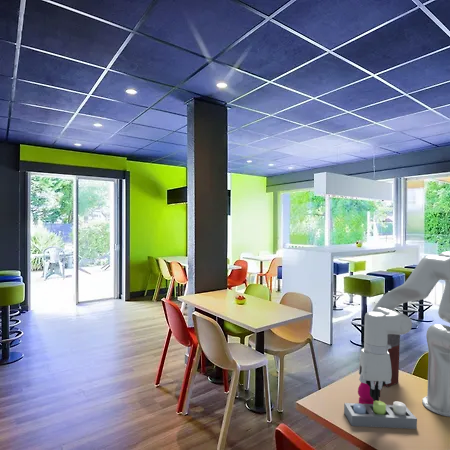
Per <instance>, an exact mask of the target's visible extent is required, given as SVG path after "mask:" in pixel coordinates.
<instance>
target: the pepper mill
mask: <svg viewBox="0 0 450 450" xmlns="http://www.w3.org/2000/svg"><path fill="white" fill-rule="evenodd" d="M374 385H375V382H374ZM357 394H358V396H359V397H358V404H373V402H374V400H373V399H372V397H371V396H370V386H369V385H368V384H365V383H362V382H360V384H359V385H358V388H357Z"/></svg>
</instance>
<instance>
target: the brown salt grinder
mask: <svg viewBox="0 0 450 450" xmlns="http://www.w3.org/2000/svg"><path fill="white" fill-rule="evenodd" d="M400 343H401V335H396V334H388V340H387V344H388V345H391V349H388V352H389V355H390V361H391V371H392V377H391V383H389V384H385V385H384V386H383V387H386V388H389V387H390V388H391V387H392V386H394V385H396V384H398V383H399V377H400V376H399V375H400V374H399V373H400V347H401V346H400V345H401V344H400ZM375 382H376V381H374V383H375Z"/></svg>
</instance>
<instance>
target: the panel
mask: <svg viewBox="0 0 450 450" xmlns="http://www.w3.org/2000/svg"><path fill="white" fill-rule="evenodd" d="M354 404H358V403H357V402H356V403H354V402H344V406H343V408H344V409H343V413H344V415H345V417H346V418H347V420H348V422H349V423H350V425H351V426H352V427H369V428H388V429H389V428H391V429H411V430H412V429H413V430H417V427H418V418H417V416H415V415H414V414H413V413H412V411H410V409H409V408H408V407H407V406H406V416H400V415H395V414H394V413H393V404H386V415H378V414H375V413H374V412H373V404H362V405H364V406H365V407H366V414H355V413H354V411H353V407H354Z"/></svg>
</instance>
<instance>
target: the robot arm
mask: <svg viewBox="0 0 450 450" xmlns="http://www.w3.org/2000/svg"><path fill="white" fill-rule="evenodd" d="M439 281H444V282H445V283H444V290H443V293H442V295H441V300H440V303H439V305H438V306H439V307H438V312H437V313H438V317H439V318H440V319H441V320H442V321H445V322H447V323H449V324H450V251H442V252H441V253H439V254H438V255H426V256H424V257H422V258H421V260H420V261H419V262H418V264H417V265H416V267H414V269H413V271H412V272H411V273H410V275H409V276H408V278H407V279H406V281H404V283H402V284H400V285H398V286H396V287H395V288H393V289H391V290H390V291H388V292H386V293H385V294H384V295H382V296H381V298H379V300H378V301H377V303H376V304H375V305H374V308H373V309H372V311H368V312H366V313H365V315H364V324H363V325H364V327H363V328H364V329H363V330H364V336H363V337H364V338H363V341H364V342H363V348H362V349H361V351H360V355H359V359H358V360H359V361H358V374H359V379H358V380H359V382H360V383H361V382H362V383H365V384H368V385H369V386H370V396H371V397H372V399H373V400H374V401H376V400H377V401H380V397H381V390H382V389H383V387H385V386H384V385H385V384H389V383H391V377H392V371H391V361H390V355H389V352H388V349H391V345H388V344H387V340H388V334H396V335H400V336H401V335H406V334H408V333H409V332H410V331H411V330H412V327H413V323H412V320H411V318H410V317H409V316H408V315H406V314H404V313H402V312H399V311H396V310H395V309H396V308H397V307H398V306H400V305H402V304H405V303H409V302H415V301H421V300H424V299H426V298H428V297H429V295H430V293H431V292H432V291H433V289H434V287H436V286H437V285H436V284H437V283H438V282H439ZM425 333H426V335H425V336H426V342H427V348H428V366H427V367H428V368H427V392H426V393H427V394H426V395H427V396H424V397H423V398H422V399H421V401H422V404H423V406H424V407H425V408H426V409H427V410H429V411H431V412H433V413H435V414H438V415H440V416H444V417H449V418H450V326H449V325H447V324H446V325H445V324H443V323H442V324H441V323H434V324H432V325H430V326H429V327H428V328H427V330H426V332H425ZM374 381H376V382H374ZM374 383H375V385H374Z"/></svg>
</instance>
